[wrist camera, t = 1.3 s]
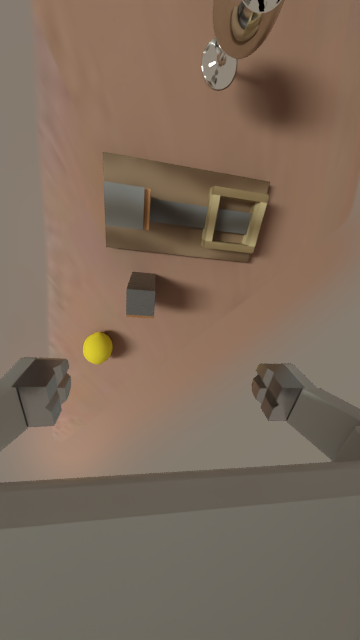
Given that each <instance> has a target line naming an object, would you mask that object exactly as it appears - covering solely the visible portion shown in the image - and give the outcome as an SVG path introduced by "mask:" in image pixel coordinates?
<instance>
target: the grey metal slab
mask: <svg viewBox="0 0 360 640" xmlns="http://www.w3.org/2000/svg"><path fill="white" fill-rule="evenodd" d="M155 293H156V285H155V274H151V273H140V272H132V275H131V278H130V281H129V283H128V286H127V303H126V315H127V317H138V318H154V306H155Z"/></svg>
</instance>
